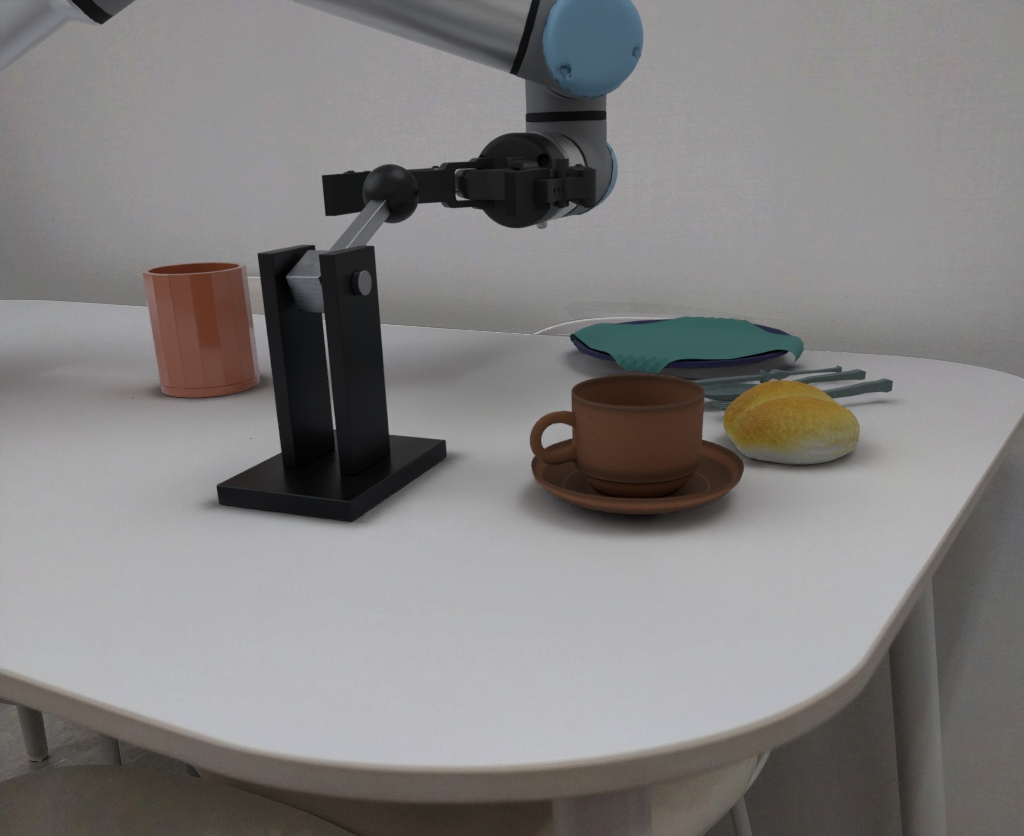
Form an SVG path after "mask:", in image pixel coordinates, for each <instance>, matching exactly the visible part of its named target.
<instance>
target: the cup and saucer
mask: <svg viewBox="0 0 1024 836" xmlns="http://www.w3.org/2000/svg"><path fill="white" fill-rule="evenodd" d="M703 387H704V386H703ZM703 387H702V386H701V385H700V384H698V383H696V382H693V380H690V379H686V378H683V377H677V376H671V375H663V374H652V373H651V374H650V373H649V374H647V373H630V374H629V373H628V374H627V373H626V374H614V375H604V376H599V377H594V378H590V379H589V378H588V379H586V380H583V381H580V382H578V383H576V384H575V385H574V386H572V388H571V391H570V392H571V393H570V394H571V395H570V396H571V397H570V399H571V400H570V401H571V411H569V410H559V411H558V410H557V411H552V412H548V413H546V414H545V415H543V416H541V417H540V418H539V419H538V420H537V421H536V422H535V423H534V425H533V427H532V428H531V431H530V435H529V447H530V450H531V452H532V454H533V455H534V456H533V458H531V461H530V467H531V472H532V476H533V477H534V480H535V481H536V482H537V484H538V485H540V487H542V488H543V489H544V490H545V491H546V492H548V494H550V495H552V496H553V497H555V498H557V499H559V500H561V501H564V502H566V503H569V504H571V505H574V506H576V507H580V508H584V509H587V510H588V509H589V510H593V511H597V512H604V513H612V514H623V515H624V514H625V515H655V514H657V515H658V514H668V513H675V512H681V511H686V510H691V509H694V508H698V507H702V506H705V505H708V504H710V503H712V502H714V501H716V500H718V499H721V498H722V497H724V496H725V495H726V494H728V493H729V492H730V491H732V490H733V489H734V488H735V487H736V486H738V485H739V483H740V482H741V480H742V477H743V474H744V471H745V463H744V461H743V459H742V458H741V457H740V455H738V454H737V453H736V452H735V451H733V450H731V449H730V448H728V447H726V446H724V445H720V444H718V443H716V442H712V441H708V440H705V439H703V432H704V431H703V430H704V429H703V428H704V412H705V399H706V398H705V390H704V388H703ZM557 424H564V425H567V426H569V427H571V438H567V439H565V440H561V441H558V442H555V443H553V444H550V445H548V446H546V447H544V445H543V443H542V442H543V441H542V438H543V434H544V432H545V431H546V429H548V428H549V427H550V426H552V425H557Z"/></svg>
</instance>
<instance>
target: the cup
mask: <svg viewBox="0 0 1024 836" xmlns="http://www.w3.org/2000/svg"><path fill="white" fill-rule="evenodd" d="M141 275H142V281H143V288H144V293H145V300H146V306H147V314H148V319H149V325H150V330H151V336H152V343H153V349H154V354H155V361H156V368H157V373H158V379H159V382H160V390H161V392H162V393H163V395H166V396H169V397H176V398H184V399H185V398H186V399H187V398H189V399H192V398H193V399H194V398H195V399H196V398H200V399H201V398H213V397H221V396H222V397H223V396H227V395H228V396H229V395H232V394H238V393H242V392H245V391H248V390H251V389H253V388H254V387H255V388H256V387H257V386H258V385H259V384H260V366H259V357H258V349H257V343H256V335H255V327H254V318H253V311H252V302H251V295H250V287H249V286H250V285H249V280H248V279H249V278H248V271H247V265H246V264H245V263H243V262H234V261H201V262H200V261H199V262H186V263H185V262H184V263H175V264H166V265H159V266H154V267H153V266H152V267H149V268H148V267H147V268H146V269H144V270H141Z"/></svg>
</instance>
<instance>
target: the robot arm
mask: <svg viewBox="0 0 1024 836" xmlns="http://www.w3.org/2000/svg"><path fill="white" fill-rule="evenodd" d="M135 1H136V0H0V75H1V74H3V73H4V72H5V71H7V70H8V69H10V68H11V67H12V66H14V65H15V64H16V63H18V62H19V61H20V60H22V59H23V58H24V57H26V56H27V55H29V53H31V52H32V51H34V50H35V49H36V48H38V47H39V46H41V45H42V44H43V43H44V42H46V41H47V40H48V39H49V40H50V38H51V37H53V36H54V35H55V34H57V33H58V32H59V31H60V30H61V31H62V29H64V28H65V27H66V26H67V25H69V24H70V23H74V22H75V23H76V22H77V23H81V24H86V25H89V26H94V27H101V26H102V25H104V24H105V23H106V22H107V21H109V20H110V19H112V18H114V16H117V14H119V13H120V12H122V11H123V10H125V9H126V8H128V6H130V5H131V4H132V3H134V2H135ZM288 1H289V2H293V3H295V4H299V5H301V6H304V7H307V8H309V9H314V10H317V11H320V12H323V13H326V14H329V15H332V16H334V17H337V18H340V19H344V20H347V21H349V22H353V23H356V24H359V25H362V26H365V27H368V28H372V29H374V30H377V31H380V32H383V33H386V34H389V35H392V36H395V37H399V38H401V39H405V40H408V41H411V42H414V43H417V44H420V45H423V46H426V47H428V48H432V49H435V50H438V51H441V52H444V53H447V54H450V55H453V56H456V57H459V58H462V59H465V60H469V61H471V62H474V63H477V64H479V65H483V66H486V67H489V68H492V69H496V70H498V71H501V72H504V73H507V74H510V75H513V76H516V77H517V78H520V79H522V80H524V89H525V91H524V92H525V132H509V133H504V134H501V135H499V136H497V137H495V138H494V139H492V140H491V141H489V142H488V143H487V144H486V145H485V147H484V148H483V149H482V150H481V151H480V153H479V155H478V157H472V158H470V160H468V161H448V162H445V161H444V162H442V163H441V164H440V165H432V166H431V167H424V168H409V169H407V168H405V169H406V170H408V171H409V172H410V173H411V174H412V175H413V177H414V178H415V180H416V182H417V184H418V187H419V202H418V205H419V204H422V205H423V204H438V203H440V204H441V206H443V207H444V208H447V209H463V208H464V209H465V208H471V209H473V210H482V211H483V213H484V214H485V215H486V216H487V217H488V218H489V219H490V220H491V221H492V222H495V223H496V224H498V225H500V226H502V227H505V228H509V229H523V228H528V227H532V226H536V228H537V229H539V230H543V229H546V228H547V227H548V222H550V221H552V220H557V219H561V218H566V217H567V218H568V217H570V216H571V217H572V216H581V215H584V214H587V213H589V212H591V210H594V209H595V208H596V207H599V206H600V205H601V204H603V202H605V201H606V200H607V198H609V196H610V195H611V194H612V192H613V190H614V188H615V186H616V184H617V180H618V175H619V174H618V173H619V166H618V160H617V155H616V154H615V150H613V148H612V146H611V144H610V143H609V142H608V137H607V135H608V133H607V132H608V122H607V118H608V117H607V95H608V94H611V93H612V92H614V91H616V90H617V89H618V88H619V87H621V85H622V84H623V83H624V82H625V81H626V80H627V79H628V78H629V77H630V76H631V75H632V74H633V72H634V71H635V69H636V67H637V65H638V63H639V61H640V59H641V57H642V51H643V46H644V27H643V23H642V18H641V15H640V12H639V10H638V9H637V7H636V5H635V3H634V2H633V1H632V0H288ZM372 171H373V170H363V171H355V170H353V169H352V170H347V171H344V172H342V173H332V174H322V175H321V183H322V194H323V204H324V216H325V217H339V216H344V215H351V214H358V213H361V211H362V210H363V209H364V208H365V207H366V206H365V203H364V200H363V185H364V182H365V180H366V178H367V176H368V175H369V174H370V172H372ZM457 197H459V198H462V199H460V200H458V199H457Z"/></svg>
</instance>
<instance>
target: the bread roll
mask: <svg viewBox="0 0 1024 836" xmlns="http://www.w3.org/2000/svg"><path fill="white" fill-rule="evenodd" d="M758 384H759V385H756V386H754V387H753V388H751V389H749V390H747V391H746V392H744V393H743V394H741V395H740V396H739V397H737V398H736V399H735V400H734V401H733V402H732V403H731V404H730V405H729V406H728V407H727V409H726V411H724V414H723V419H722V426H723V429H724V432H725V434H726V435H727V437H728V438H729V440H730V441H731V443H733V444H734V445H735V447H736V449H737V450H738V451H739V452H740V454H742V455H743V456H745V457H747V458H750V459H752V460H753V459H754V460H757V461H766V462H772V463H778V464H784V465H816V464H821V463H827V462H831V461H834V460H836V459H839V458H841V457H844V456H846V455H848V454H849V453H851V452H852V451H854V450H855V449H856V447H857V446H858V442H859V437H860V433H861V428H860V427H861V426H860V423H859V420H858V418H857V417H856V416H855V414H854V413H853V412H852V411H851V410H850V409H849V408H847V407H845V406H843V405H841V404H839V403H837V401H836V400H835V399H832V398H831V397H830V396H828V395H827V394H826V393H825V392H823V391H822V389H820V388H819V387H816V386H814V385H811V384H805V383H802V382H797V381H792V380H790V379H789V380H787V379H782V380H776V379H775V380H770V381H768V382H764V383H758Z"/></svg>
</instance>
